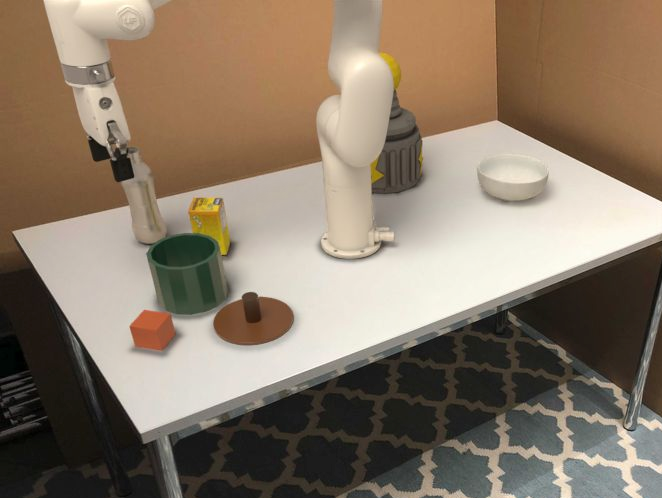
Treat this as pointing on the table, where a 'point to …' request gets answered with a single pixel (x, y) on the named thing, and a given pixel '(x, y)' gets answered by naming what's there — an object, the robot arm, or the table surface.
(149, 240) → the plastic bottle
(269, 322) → the canister lid
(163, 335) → the block
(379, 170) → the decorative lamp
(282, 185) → the table surface
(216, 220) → the supplement box
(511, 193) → the cereal bowl
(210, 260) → the canister
